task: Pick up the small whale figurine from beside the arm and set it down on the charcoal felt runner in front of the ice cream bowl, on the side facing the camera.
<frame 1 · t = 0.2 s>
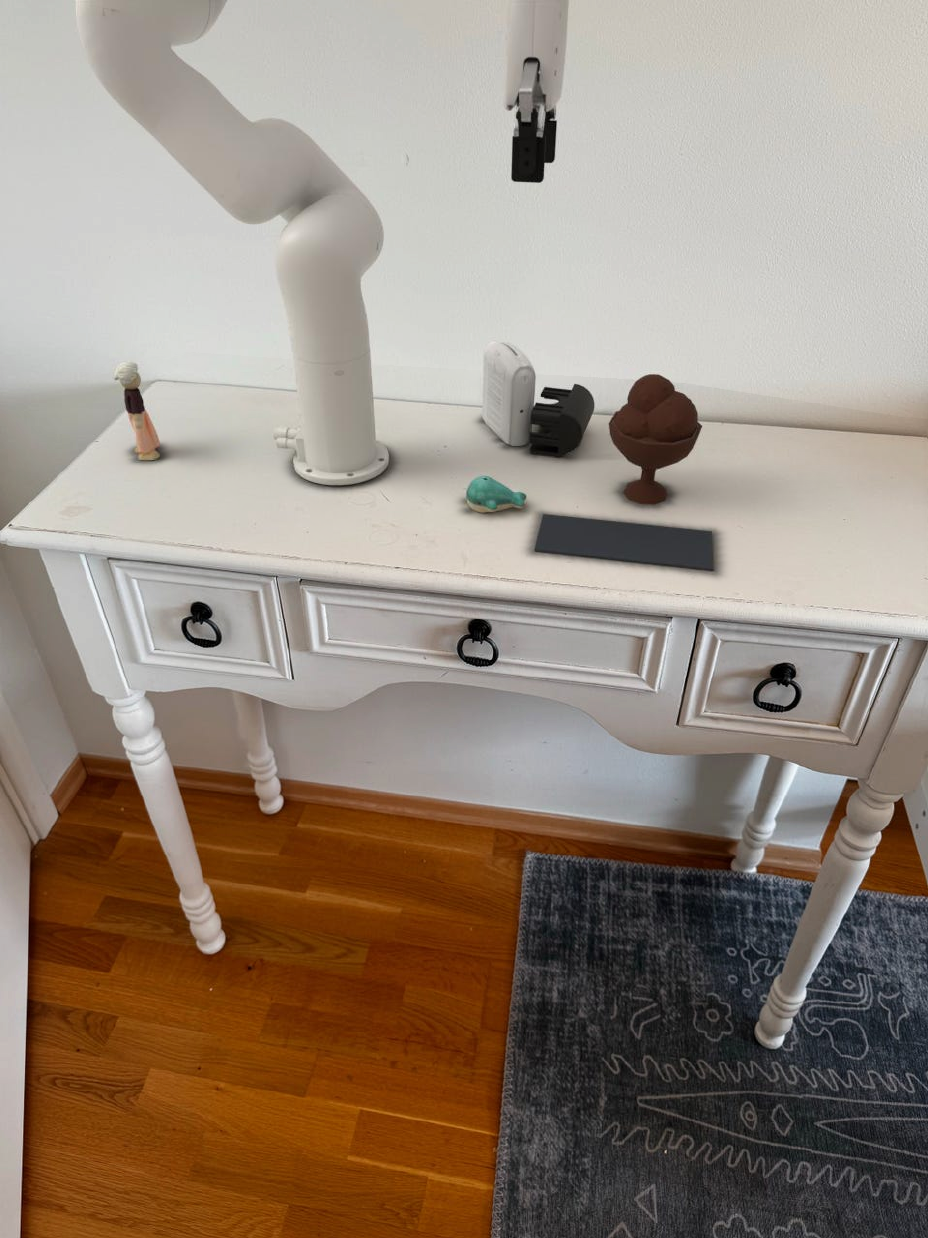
hand: (533, 171, 92), 36 cm above the table, tool pointing down, fingers open, 9 cm apart
photo printer: (506, 432, 126), on the table
grandmother figurine: (147, 453, 121), on the table
whale figurine: (495, 508, 109), on the table
end cap: (560, 443, 123), on the table
runner: (624, 542, 103), on the table
ice cream bowl: (645, 494, 112), on the table
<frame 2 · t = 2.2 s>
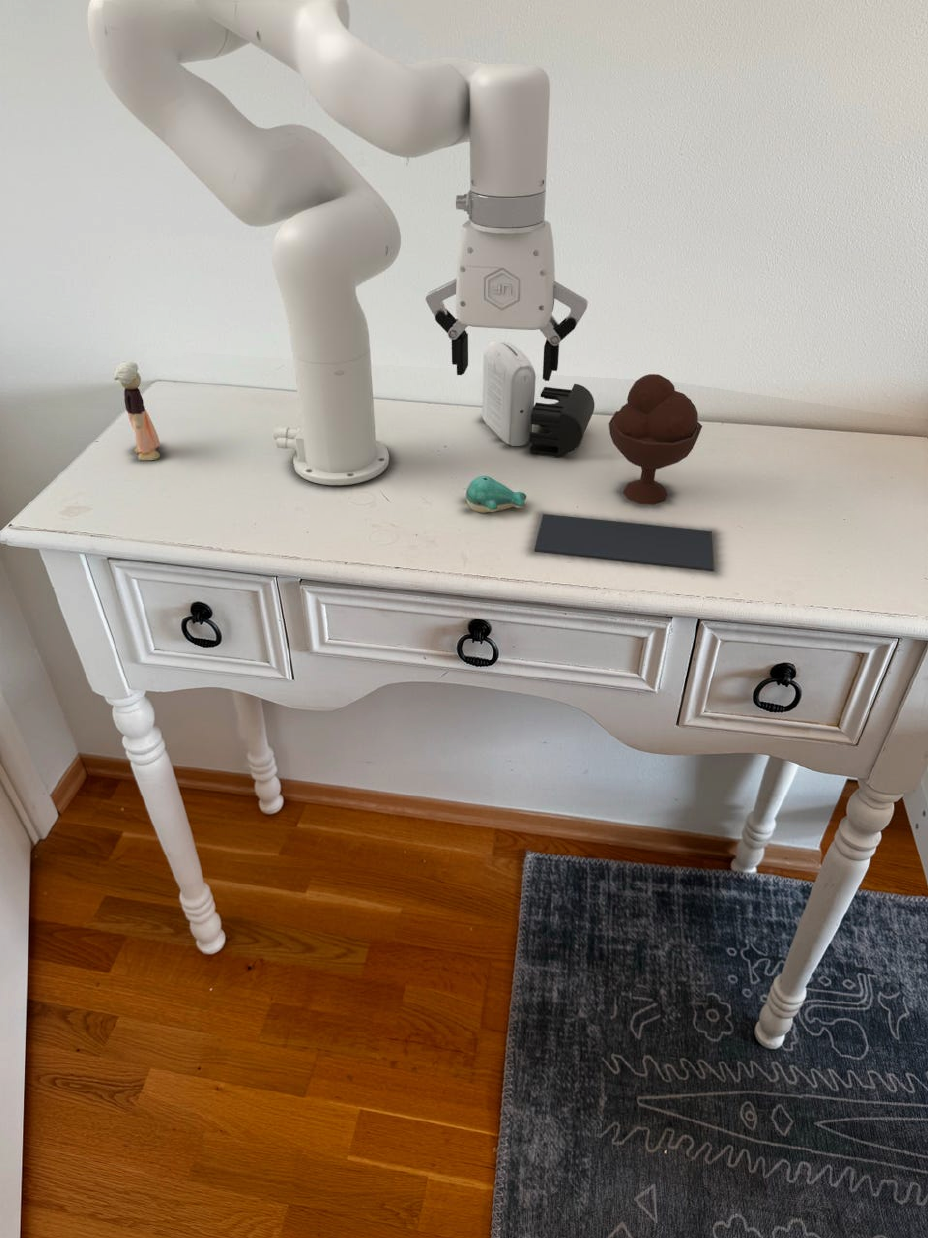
hand: (504, 373, 99), 17 cm above the table, tool pointing down, fingers open, 9 cm apart
nothing on the table moved.
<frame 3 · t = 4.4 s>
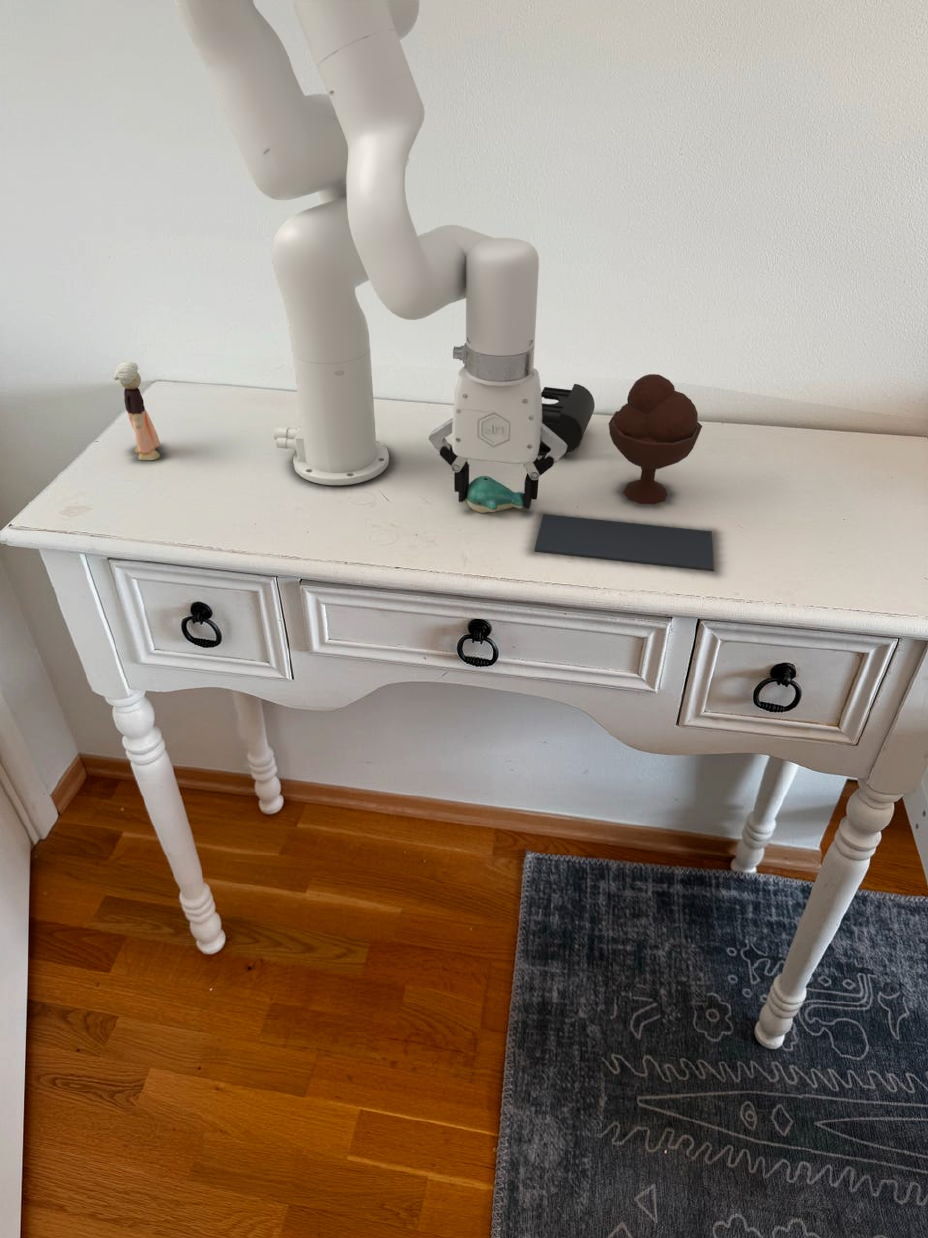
hand: (495, 499, 109), 1 cm above the table, tool pointing down, fingers closed on whale figurine, 7 cm apart
whale figurine: (495, 508, 110), on the table, touching gripper
everything else where it was.
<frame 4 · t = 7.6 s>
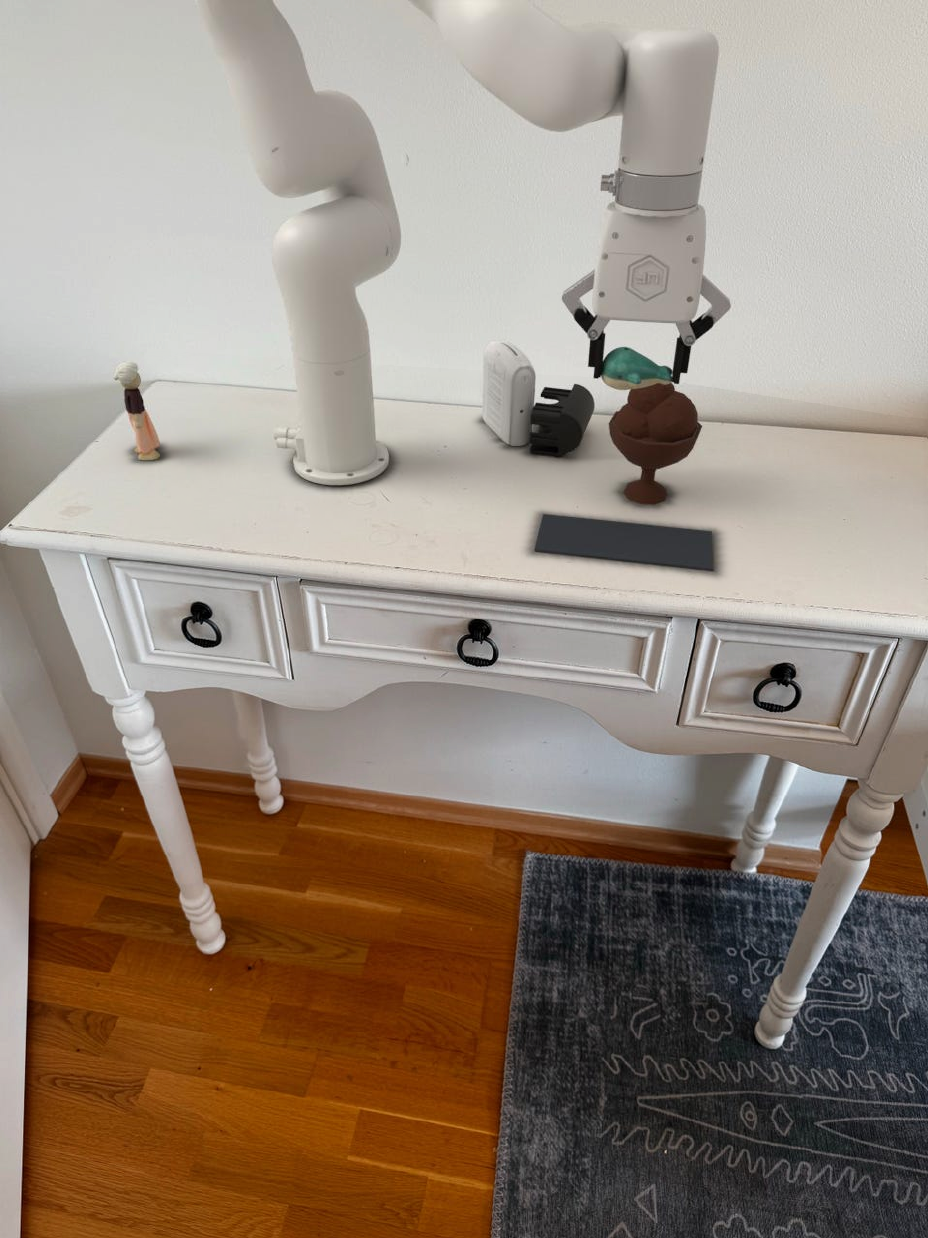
hand: (636, 375, 92), 20 cm above the table, tool pointing down, fingers closed on whale figurine, 7 cm apart
whale figurine: (635, 386, 92), point 19 cm above the table, touching gripper
everything else where it was.
when the fingers open (1 cm above the table, at t = 10.8 s): whale figurine stays where it is, resting on runner.
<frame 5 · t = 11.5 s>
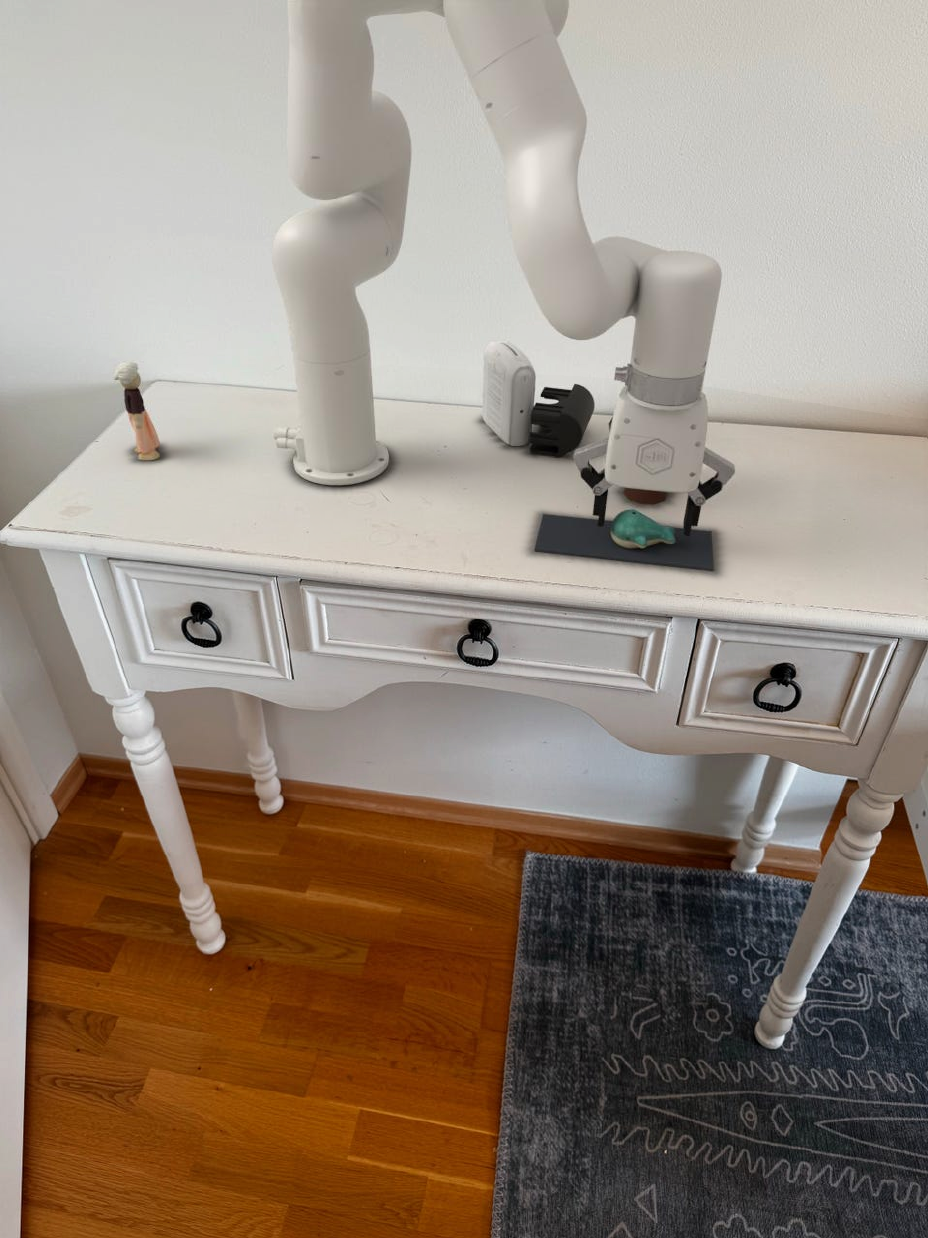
hand: (643, 525, 101), 3 cm above the table, tool pointing down, fingers open, 9 cm apart
whale figurine: (641, 543, 103), resting on runner
everything else where it was.
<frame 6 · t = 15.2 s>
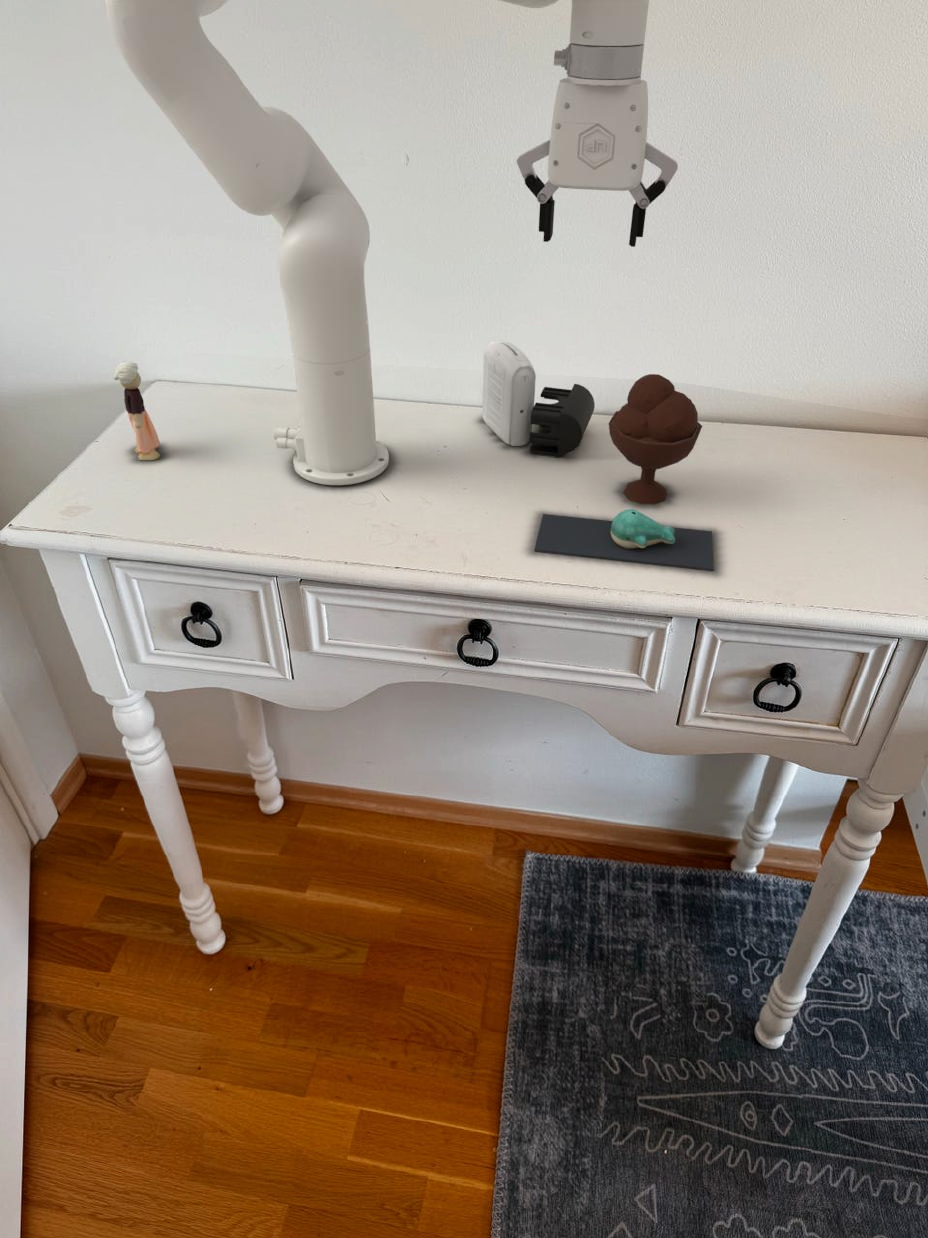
hand: (589, 240, 101), 28 cm above the table, tool pointing down, fingers open, 9 cm apart
nothing on the table moved.
at the end: whale figurine inside the target area on the table beside the ice cream bowl (0.0 cm from its centre), resting on runner; whale figurine touching runner; ice cream bowl moved 0.2 cm from its start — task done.
